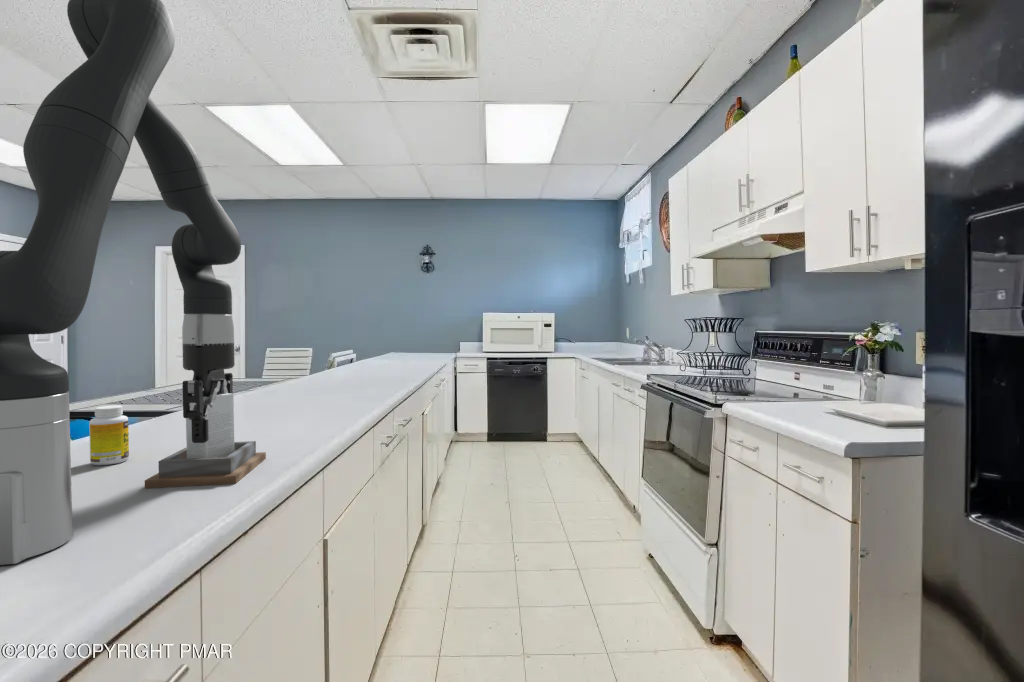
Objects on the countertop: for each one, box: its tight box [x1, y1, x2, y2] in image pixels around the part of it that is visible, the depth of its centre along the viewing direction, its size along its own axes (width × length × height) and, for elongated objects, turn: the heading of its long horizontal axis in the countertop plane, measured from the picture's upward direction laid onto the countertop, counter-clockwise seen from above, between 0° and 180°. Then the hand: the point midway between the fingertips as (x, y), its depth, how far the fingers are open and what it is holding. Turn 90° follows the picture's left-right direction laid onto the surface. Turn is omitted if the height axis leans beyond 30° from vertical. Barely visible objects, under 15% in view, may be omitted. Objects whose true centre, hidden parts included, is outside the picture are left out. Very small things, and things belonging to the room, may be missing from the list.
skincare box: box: [185, 393, 235, 459], centre depth 84 cm, size 6×4×12 cm
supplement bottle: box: [88, 404, 130, 466], centre depth 90 cm, size 6×6×10 cm
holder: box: [144, 440, 267, 489], centre depth 84 cm, size 15×13×4 cm
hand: (210, 436), depth 84 cm, fingers open, 7 cm apart
